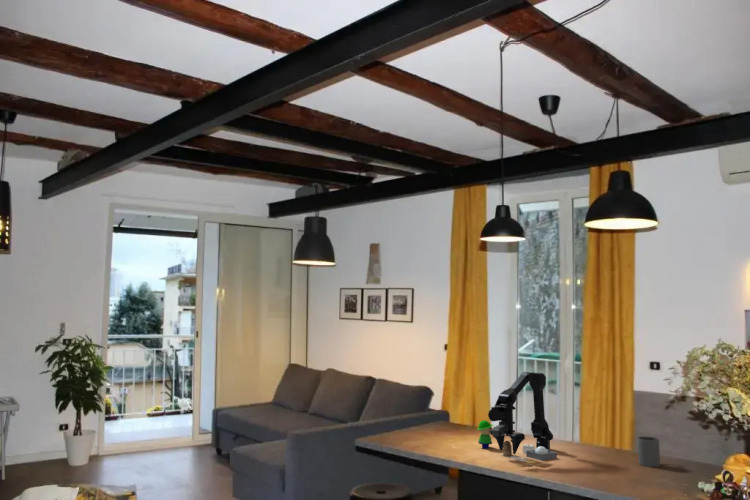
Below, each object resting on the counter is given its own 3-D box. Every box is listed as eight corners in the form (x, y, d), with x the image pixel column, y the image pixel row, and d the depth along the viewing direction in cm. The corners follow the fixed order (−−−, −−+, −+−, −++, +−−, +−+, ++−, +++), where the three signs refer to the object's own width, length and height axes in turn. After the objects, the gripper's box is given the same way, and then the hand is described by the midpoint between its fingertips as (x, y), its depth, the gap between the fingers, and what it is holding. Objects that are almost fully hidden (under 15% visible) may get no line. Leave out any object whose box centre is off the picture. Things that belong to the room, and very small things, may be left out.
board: (527, 452, 316) (527, 450, 316) (560, 461, 297) (560, 458, 297) (497, 457, 306) (497, 454, 306) (529, 466, 287) (529, 463, 287)
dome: (541, 456, 304) (541, 444, 305) (550, 458, 299) (550, 446, 300) (532, 457, 301) (532, 445, 302) (541, 459, 296) (541, 448, 297)
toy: (493, 452, 317) (493, 422, 319) (476, 451, 319) (476, 421, 321) (494, 448, 326) (493, 419, 328) (477, 447, 328) (476, 418, 329)
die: (527, 452, 313) (527, 443, 313) (534, 453, 310) (534, 445, 310) (523, 453, 310) (523, 445, 310) (530, 454, 307) (530, 446, 307)
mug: (654, 468, 284) (652, 441, 286) (635, 464, 291) (633, 438, 293) (668, 463, 293) (667, 437, 294) (649, 460, 300) (648, 434, 301)
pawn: (508, 454, 307) (507, 439, 308) (513, 455, 303) (512, 440, 304) (501, 455, 305) (501, 440, 306) (507, 456, 301) (506, 441, 302)
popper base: (541, 454, 307) (541, 448, 308) (556, 458, 299) (556, 452, 299) (526, 457, 302) (526, 450, 302) (541, 461, 294) (541, 454, 294)
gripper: (481, 418, 310) (482, 450, 308) (507, 423, 294) (508, 457, 292) (498, 416, 315) (499, 448, 314) (525, 421, 299) (526, 455, 298)
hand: (507, 452), depth 304 cm, fingers open, 9 cm apart
